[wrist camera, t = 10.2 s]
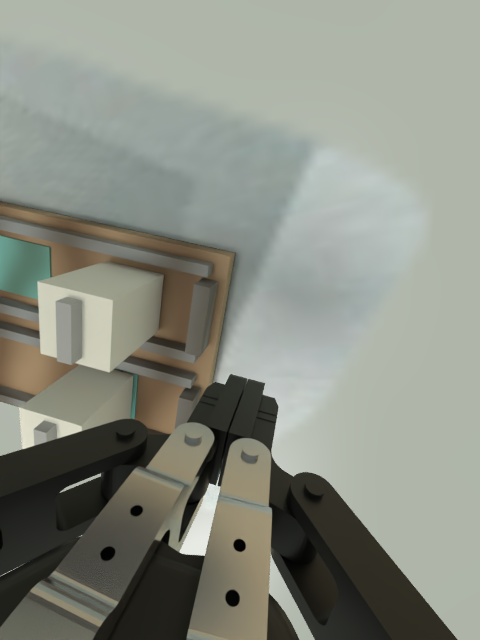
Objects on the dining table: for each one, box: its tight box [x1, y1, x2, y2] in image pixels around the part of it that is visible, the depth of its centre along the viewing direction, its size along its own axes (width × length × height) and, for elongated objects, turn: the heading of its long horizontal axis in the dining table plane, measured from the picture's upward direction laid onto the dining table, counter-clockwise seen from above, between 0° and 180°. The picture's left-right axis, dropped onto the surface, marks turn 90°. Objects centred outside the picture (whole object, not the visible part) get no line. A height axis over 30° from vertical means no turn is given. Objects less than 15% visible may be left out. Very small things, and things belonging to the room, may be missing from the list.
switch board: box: [0, 201, 235, 435], centre depth 24 cm, size 22×16×3 cm
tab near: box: [37, 261, 164, 373], centre depth 19 cm, size 4×4×7 cm
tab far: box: [19, 365, 133, 449], centre depth 22 cm, size 4×4×7 cm
